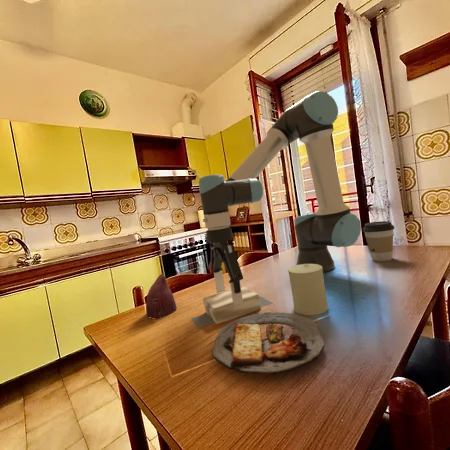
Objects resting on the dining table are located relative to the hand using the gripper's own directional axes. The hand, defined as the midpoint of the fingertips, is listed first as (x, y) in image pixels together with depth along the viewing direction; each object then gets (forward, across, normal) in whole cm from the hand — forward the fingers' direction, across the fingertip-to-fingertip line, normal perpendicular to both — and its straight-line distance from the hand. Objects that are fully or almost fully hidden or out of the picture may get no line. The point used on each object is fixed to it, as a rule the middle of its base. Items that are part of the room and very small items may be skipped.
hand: (228, 297), depth 78 cm
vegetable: (+5, -17, -18) cm, 26 cm away
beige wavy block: (+4, 0, 0) cm, 4 cm away
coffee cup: (+4, -3, +69) cm, 70 cm away
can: (+4, +14, +18) cm, 24 cm away
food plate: (+5, +22, 0) cm, 23 cm away
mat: (+5, 0, 0) cm, 5 cm away
